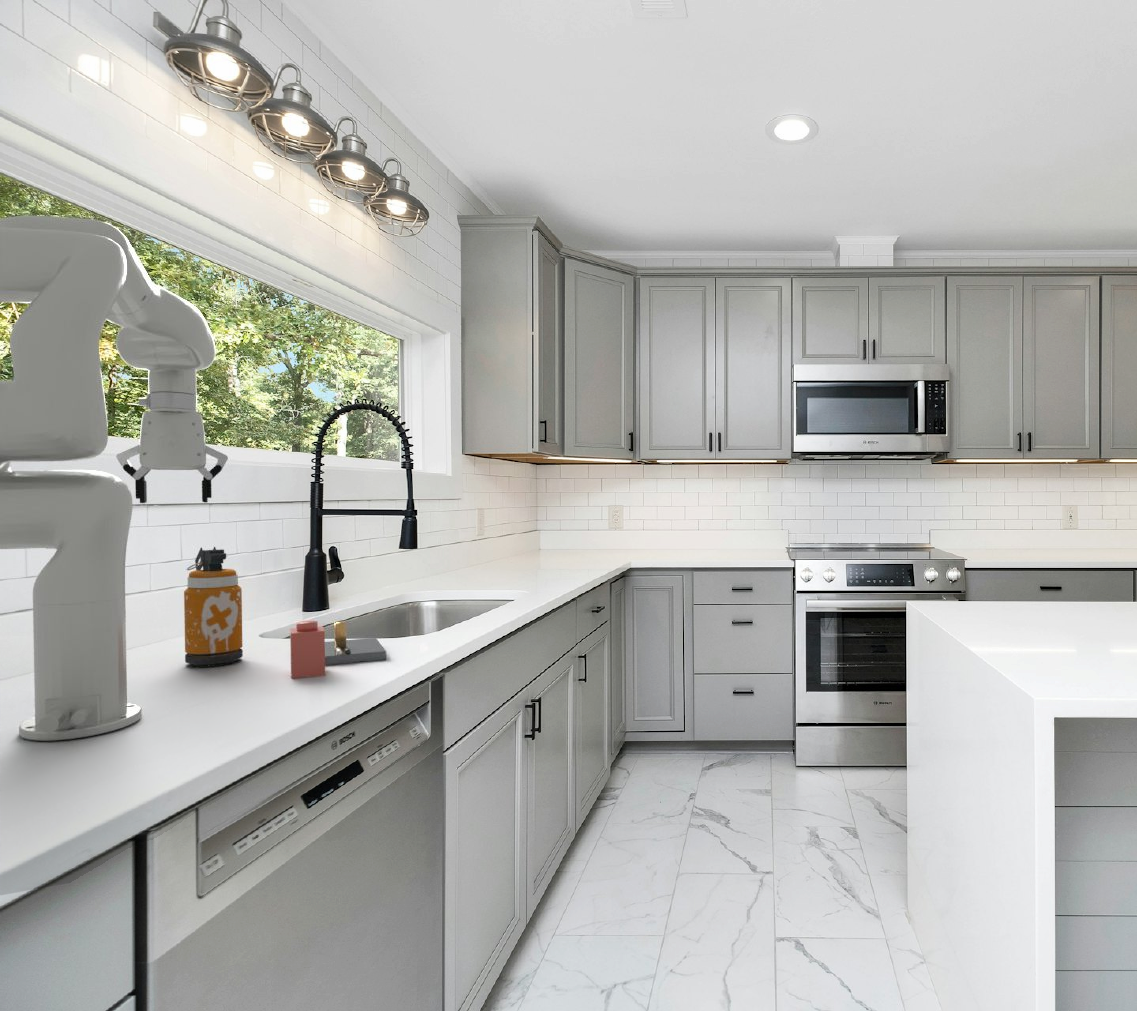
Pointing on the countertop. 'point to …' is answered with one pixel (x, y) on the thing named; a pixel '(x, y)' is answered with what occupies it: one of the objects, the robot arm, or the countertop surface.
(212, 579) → the canister
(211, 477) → the robot arm
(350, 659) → the grey plate with peg
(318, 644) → the pink cube with dome
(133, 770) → the countertop surface
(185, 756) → the countertop surface
